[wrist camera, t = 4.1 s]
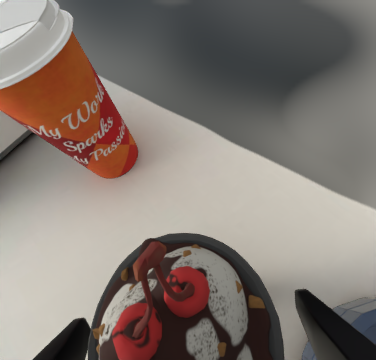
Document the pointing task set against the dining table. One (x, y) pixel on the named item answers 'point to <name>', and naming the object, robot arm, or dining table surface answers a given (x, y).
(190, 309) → the sundae
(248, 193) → the dining table surface
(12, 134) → the tub
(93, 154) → the paper cup
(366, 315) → the bowl
